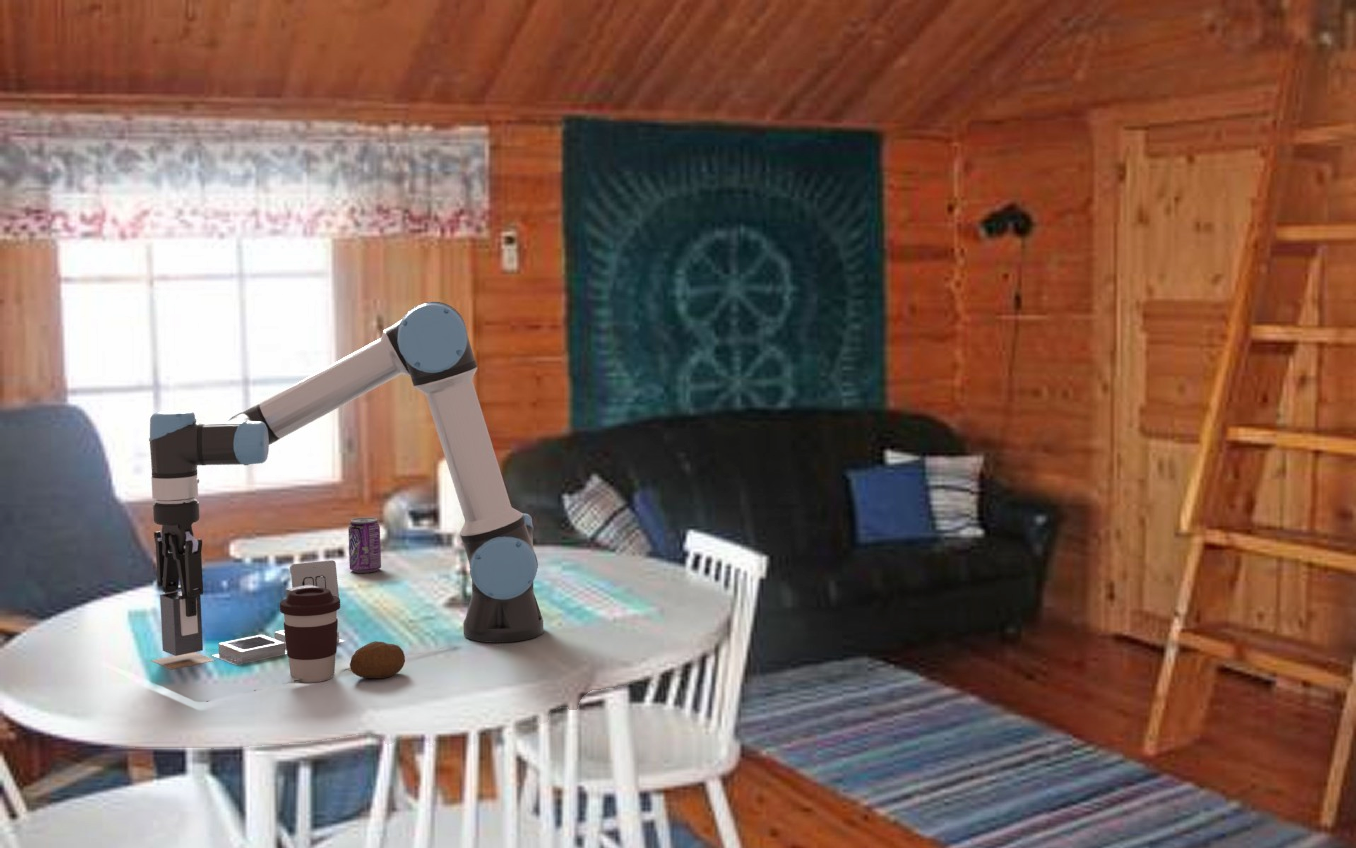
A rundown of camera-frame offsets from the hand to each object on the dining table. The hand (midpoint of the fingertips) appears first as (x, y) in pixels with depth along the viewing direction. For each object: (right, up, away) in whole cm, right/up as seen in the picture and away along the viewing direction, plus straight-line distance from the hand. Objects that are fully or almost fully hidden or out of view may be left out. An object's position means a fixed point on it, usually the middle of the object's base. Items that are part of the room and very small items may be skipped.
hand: (182, 630), depth 250 cm
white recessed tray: (+15, -5, +8) cm, 18 cm away
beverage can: (+15, +2, +79) cm, 80 cm away
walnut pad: (0, -6, +1) cm, 6 cm away
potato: (+36, -7, -7) cm, 37 cm away
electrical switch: (+11, -1, +46) cm, 47 cm away
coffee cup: (+25, -7, -7) cm, 27 cm away
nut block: (0, -3, 0) cm, 4 cm away
